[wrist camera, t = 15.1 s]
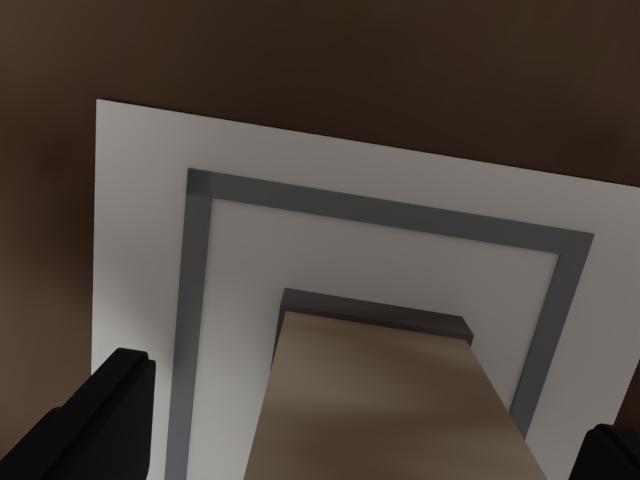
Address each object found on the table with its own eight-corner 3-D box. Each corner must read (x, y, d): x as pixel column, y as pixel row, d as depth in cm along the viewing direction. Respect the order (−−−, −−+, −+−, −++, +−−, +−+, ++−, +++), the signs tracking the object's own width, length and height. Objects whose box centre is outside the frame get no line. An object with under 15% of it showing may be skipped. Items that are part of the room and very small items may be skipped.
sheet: (696, 197, 10) (706, 199, 10) (545, 579, 14) (550, 589, 13) (101, 99, 10) (94, 98, 10) (92, 509, 13) (86, 518, 13)
